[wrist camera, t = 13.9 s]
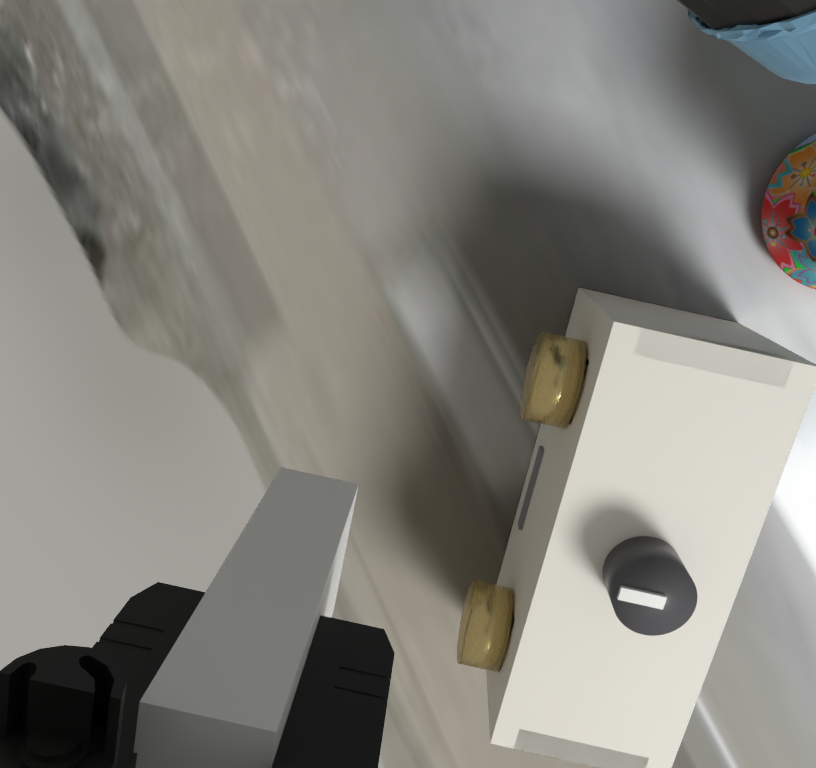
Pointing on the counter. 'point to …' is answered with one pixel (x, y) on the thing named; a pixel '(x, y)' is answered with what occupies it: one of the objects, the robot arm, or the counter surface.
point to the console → (639, 526)
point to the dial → (649, 586)
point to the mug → (793, 214)
